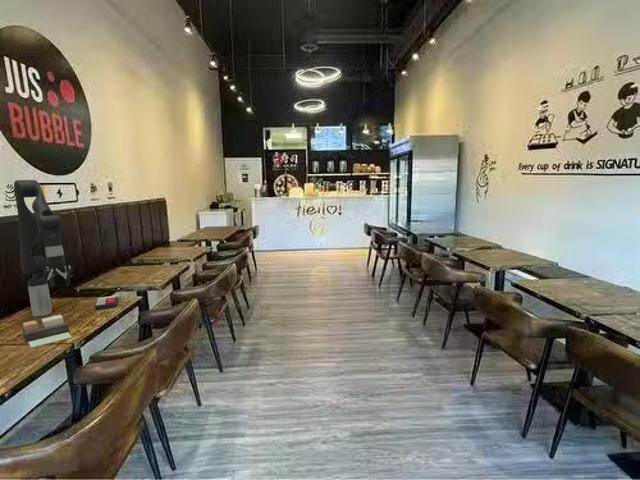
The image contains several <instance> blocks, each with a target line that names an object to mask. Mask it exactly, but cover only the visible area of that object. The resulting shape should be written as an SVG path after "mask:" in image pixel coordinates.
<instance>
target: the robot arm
mask: <svg viewBox="0 0 640 480" xmlns="http://www.w3.org/2000/svg"><path fill="white" fill-rule="evenodd" d="M13 191H14V197H15V201H16V208H17V222H18V223H17V224H18V234H19V242H20V243H19V244H20V269H21V271H22V273H23V274H24V275H33V274H35V275H34V276H33V277H31V278H30V279H28V280H27V289H28V295H29V303H30V307H31V314H32V317H34V318H35V317H37V318H38V317H43V316H48V315H50V314H52V313H53V310H52V302H51V295H50V289H49V286H50V288H53V287H55V286H56V285H55V280H54V277H55V276H57V275H58V276H61V277H63V278H64V283H65V287H68V286H70V285H71V278H72V277H74V272H73V268H72V265H71V264H68V265H66V264H65V263H66V259H65V258H66V257H65V251H64V248H63V244H62V239H61V237H62V227H63V218H62V217H61V216H60V215H58V214H53V211H52V209H51V208H50V207H49V204H48V203H47V201H46V198H45V195H44V193H43V190H42V187H41V185H40V183H39V182H38V181H37V180H35V179H34V180H33V179H19V180H18V179H17V180H15V181H14V182H13ZM25 198H35V199H34V200H33V202H32V205H31V209H32V211H33V212H32V211H31V210H30V208H29V207H28V205H27V204H26V201H25ZM41 230H42V231H49V230H53V232H52V233H50V234H46V235H44V237H43V242H44V246H45V247H44V248H45V256H43V255H34V256H33V255H32V252H33V248H34V246H35V244H36V242H37V241H38V238H39V237H40V233H41ZM45 257H46V258H45Z"/></svg>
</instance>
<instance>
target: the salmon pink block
mask: <svg viewBox="0 0 640 480" xmlns="http://www.w3.org/2000/svg"><path fill="white" fill-rule="evenodd" d="M22 324H23V328H24V330H25V332H28V331H32V330H37V329H38V324H39V323H38V322H37V321H36V320H30V321H26V322H22Z"/></svg>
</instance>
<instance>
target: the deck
mask: <svg viewBox="0 0 640 480" xmlns="http://www.w3.org/2000/svg"><path fill="white" fill-rule="evenodd" d="M63 321H64V323H62V324H58V325H54V326H50V327H44V326H43V324H42V323H38V329H37V330H32V331H28V332H25V330H24V327H22V328H21V329H22V337H23V338H24V340H25V342H26V343H27V342H30V341H34V340H38V339H42V338H46V337H50V336H54V335H58V334H62V333H66V332H68V333H70V331H69V330H70V329H69V324H68V323H67V322H66V320H65V319H63Z"/></svg>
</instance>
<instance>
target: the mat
mask: <svg viewBox="0 0 640 480" xmlns="http://www.w3.org/2000/svg"><path fill="white" fill-rule="evenodd" d="M68 339H69V340H70V339H73V337H72V335H71V334H70V332H66V333H62V334H58V335H54V336H50V337H46V338H42V339H38V340H34V341H30V342H28V343H27V344H28V345H29V348H30V349H34V348H38V347H41V346H46V345H49V344H53V342H54V343H56V342H57V341H58V342H60V341H64V340H68ZM33 347H34V348H33Z"/></svg>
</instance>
